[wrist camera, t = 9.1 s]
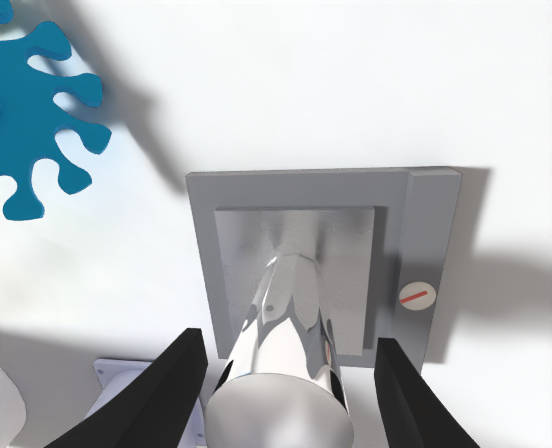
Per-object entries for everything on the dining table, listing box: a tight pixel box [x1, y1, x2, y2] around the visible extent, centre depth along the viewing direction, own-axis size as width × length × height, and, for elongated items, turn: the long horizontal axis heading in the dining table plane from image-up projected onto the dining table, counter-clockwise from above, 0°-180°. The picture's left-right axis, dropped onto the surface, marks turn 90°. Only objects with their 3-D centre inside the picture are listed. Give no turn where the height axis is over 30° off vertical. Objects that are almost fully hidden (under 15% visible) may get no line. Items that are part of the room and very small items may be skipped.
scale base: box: [185, 166, 462, 375], centre depth 17 cm, size 13×13×2 cm
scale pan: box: [214, 206, 375, 356], centre depth 17 cm, size 10×8×1 cm
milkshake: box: [204, 254, 354, 448], centre depth 12 cm, size 4×5×10 cm
